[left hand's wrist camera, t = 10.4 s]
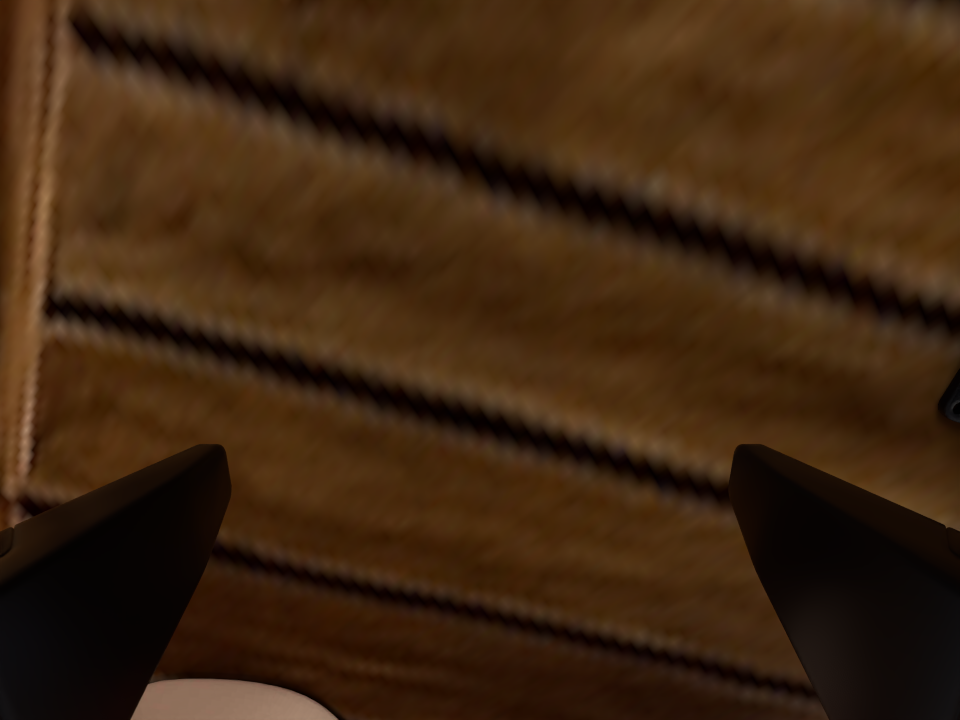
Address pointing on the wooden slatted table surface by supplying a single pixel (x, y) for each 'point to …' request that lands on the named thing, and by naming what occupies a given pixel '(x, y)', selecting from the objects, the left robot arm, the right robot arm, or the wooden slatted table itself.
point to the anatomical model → (225, 702)
